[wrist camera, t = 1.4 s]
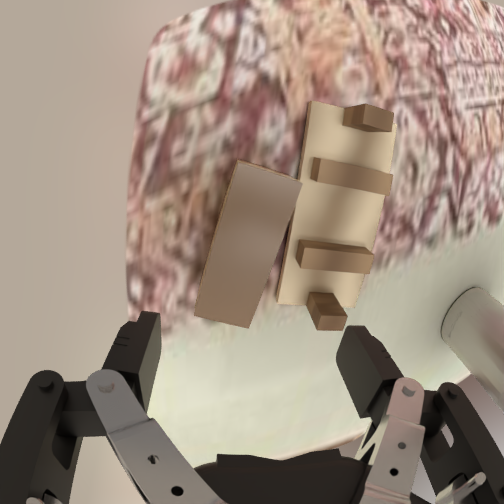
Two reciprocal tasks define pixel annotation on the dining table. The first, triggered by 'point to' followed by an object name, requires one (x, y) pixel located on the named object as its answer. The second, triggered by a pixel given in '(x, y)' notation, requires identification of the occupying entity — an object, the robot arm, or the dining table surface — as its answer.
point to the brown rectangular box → (245, 243)
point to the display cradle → (336, 209)
